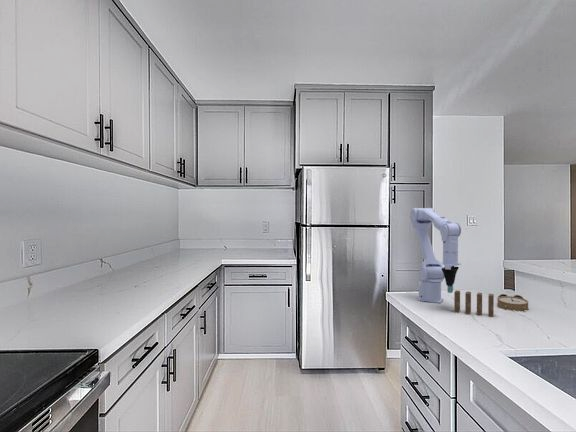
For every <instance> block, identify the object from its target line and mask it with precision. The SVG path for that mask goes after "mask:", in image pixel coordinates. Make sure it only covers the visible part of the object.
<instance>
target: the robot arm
mask: <svg viewBox="0 0 576 432" xmlns="http://www.w3.org/2000/svg"><path fill="white" fill-rule="evenodd" d="M409 218H410V221H411V225H412V227H413V228H414V230H415V233H416V236H417V237H416V238H417V241H418V244H419V247H420V252H421V256H422V259H423V261H422V262H421V263H420V265H419V267H418V268H419V276H420V278H421V279H420V280H419V281H418V301H420V302H430V303H435V304H436V303H438V304H439V303H440V304H441V303H442V301H443V300H444V298H442V282H443V281H444V280H445V285H446V287H448V286H452V285H453V286H454V285H455V280H456V276H457V272H458V270H459V266H461V265H462V263H461V262H459V237H460V236H461V234H462V227H461V225H460V224H459V223H458V222H455V223H453V222H451V220H450V219H447V218H446V216H445V215H438V214H437V213H436V211H435V209H434V208H433V207H426V208H425V207H420V208H419V207H413V208H411V211H410V215H409ZM432 225H433V227H434V228H435V229H436V230H438V231H439V234H440V237H441V241H442V262H441V261H439V260H438V259H436V256H435V252H434V250H433V245H432V243H431V239H430V236H429V232H428V229H429V228H430V227H431V226H432Z"/></svg>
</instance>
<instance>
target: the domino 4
mask: <svg viewBox="0 0 576 432" xmlns="http://www.w3.org/2000/svg"><path fill="white" fill-rule="evenodd" d="M494 297H495V294H494V293H488V309H487V310H488V311H487V313H488V315H487V316H489V318H494V311H495V310H494V307H495V306H494V304H495V303H494V300H495V299H494Z"/></svg>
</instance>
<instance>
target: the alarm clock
mask: <svg viewBox="0 0 576 432" xmlns="http://www.w3.org/2000/svg"><path fill="white" fill-rule="evenodd" d="M496 301H497V307H498V308H500V309H502V308H503V310H506V309H508V310H507V311H513V310H515V311H514V312H524V310H527V311H529V301H528V300H527V299H525V298H524V297H523V296H521V295H519V294H516V295H513V296H512V295H507V294H505V293H501V294H499V295H498V296H497V298H496Z"/></svg>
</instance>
